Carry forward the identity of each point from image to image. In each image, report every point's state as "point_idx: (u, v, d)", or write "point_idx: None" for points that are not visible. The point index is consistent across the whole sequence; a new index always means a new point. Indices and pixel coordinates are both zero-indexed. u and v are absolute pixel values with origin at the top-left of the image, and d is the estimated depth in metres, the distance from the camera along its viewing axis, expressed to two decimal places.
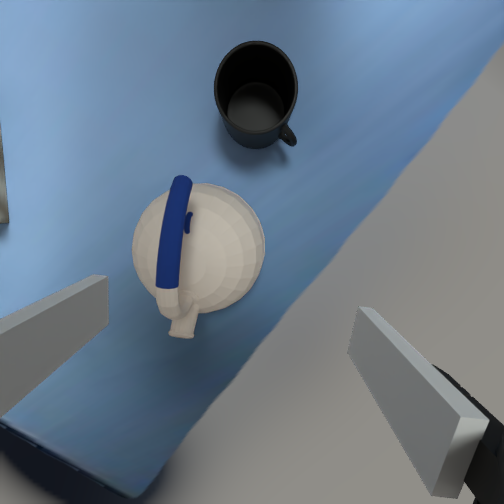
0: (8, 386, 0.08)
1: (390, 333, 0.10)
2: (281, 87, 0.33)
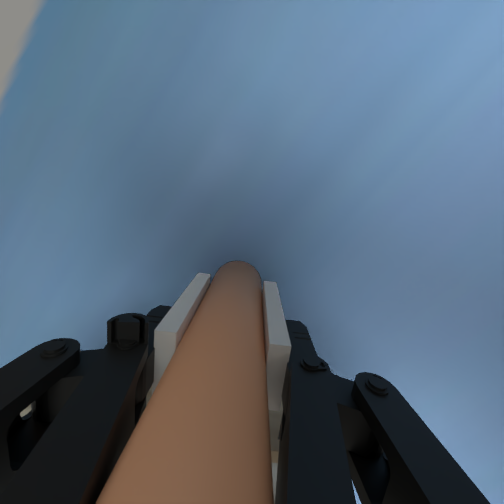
0: None
1: (272, 298, 0.12)
2: None
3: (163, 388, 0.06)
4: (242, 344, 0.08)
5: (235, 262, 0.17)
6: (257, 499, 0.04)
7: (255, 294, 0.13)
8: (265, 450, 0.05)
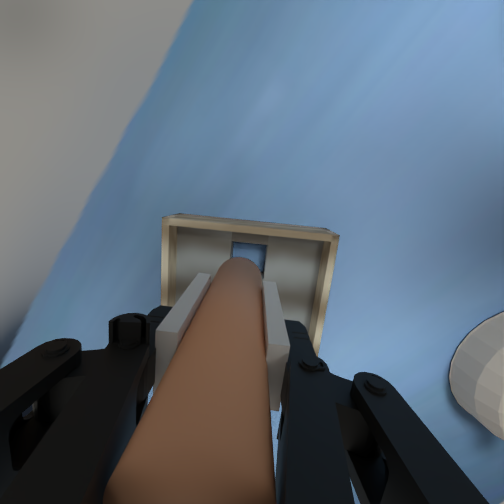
0: None
1: (271, 297, 0.12)
2: None
3: (176, 363, 0.07)
4: (244, 328, 0.09)
5: (237, 258, 0.18)
6: (259, 445, 0.05)
7: (256, 287, 0.14)
8: (266, 412, 0.06)
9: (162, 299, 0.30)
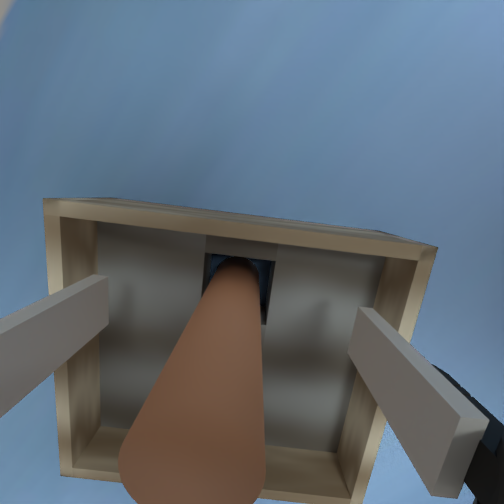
0: (8, 386, 0.08)
1: (390, 333, 0.10)
2: None
3: (179, 348, 0.08)
4: (241, 320, 0.10)
5: (235, 257, 0.19)
6: (251, 413, 0.06)
7: (253, 284, 0.15)
8: (258, 390, 0.07)
9: (57, 371, 0.14)
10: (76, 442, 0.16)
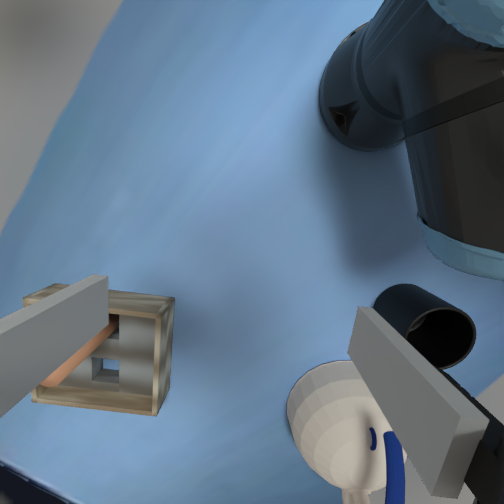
0: (8, 386, 0.08)
1: (390, 333, 0.10)
2: None
3: None
4: None
5: None
6: None
7: None
8: (69, 360, 0.30)
9: None
10: (38, 388, 0.39)
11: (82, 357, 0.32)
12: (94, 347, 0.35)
